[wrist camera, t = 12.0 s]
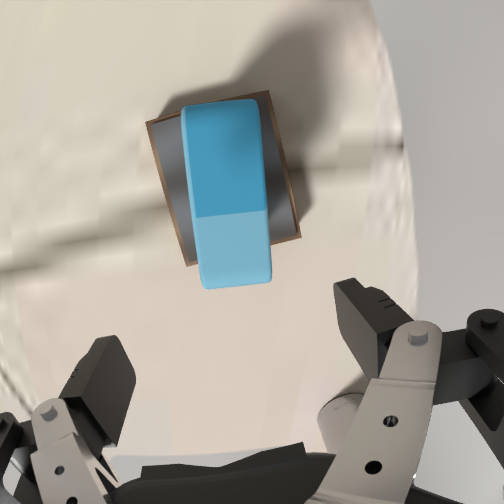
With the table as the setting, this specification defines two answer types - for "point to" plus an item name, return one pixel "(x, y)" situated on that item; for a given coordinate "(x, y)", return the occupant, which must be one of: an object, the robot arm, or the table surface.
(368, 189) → the table surface
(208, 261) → the blue rectangular block
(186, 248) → the stand
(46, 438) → the robot arm
